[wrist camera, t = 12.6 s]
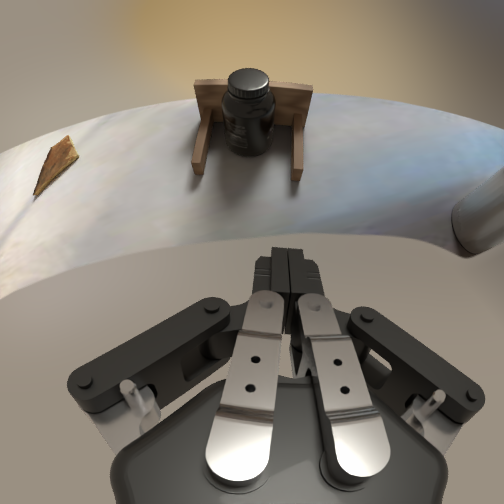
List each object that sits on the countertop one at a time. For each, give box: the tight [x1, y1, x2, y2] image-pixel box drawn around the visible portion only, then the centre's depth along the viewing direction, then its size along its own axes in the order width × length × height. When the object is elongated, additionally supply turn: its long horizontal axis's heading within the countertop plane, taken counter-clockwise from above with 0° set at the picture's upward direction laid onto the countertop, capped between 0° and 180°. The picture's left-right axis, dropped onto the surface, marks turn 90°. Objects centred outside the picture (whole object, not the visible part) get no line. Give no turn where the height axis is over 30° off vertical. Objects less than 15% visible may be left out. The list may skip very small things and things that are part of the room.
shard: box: [33, 135, 79, 196], centre depth 39 cm, size 11×8×2 cm
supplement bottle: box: [221, 68, 276, 157], centre depth 34 cm, size 7×7×12 cm
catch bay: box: [191, 79, 313, 181], centre depth 35 cm, size 16×11×8 cm
